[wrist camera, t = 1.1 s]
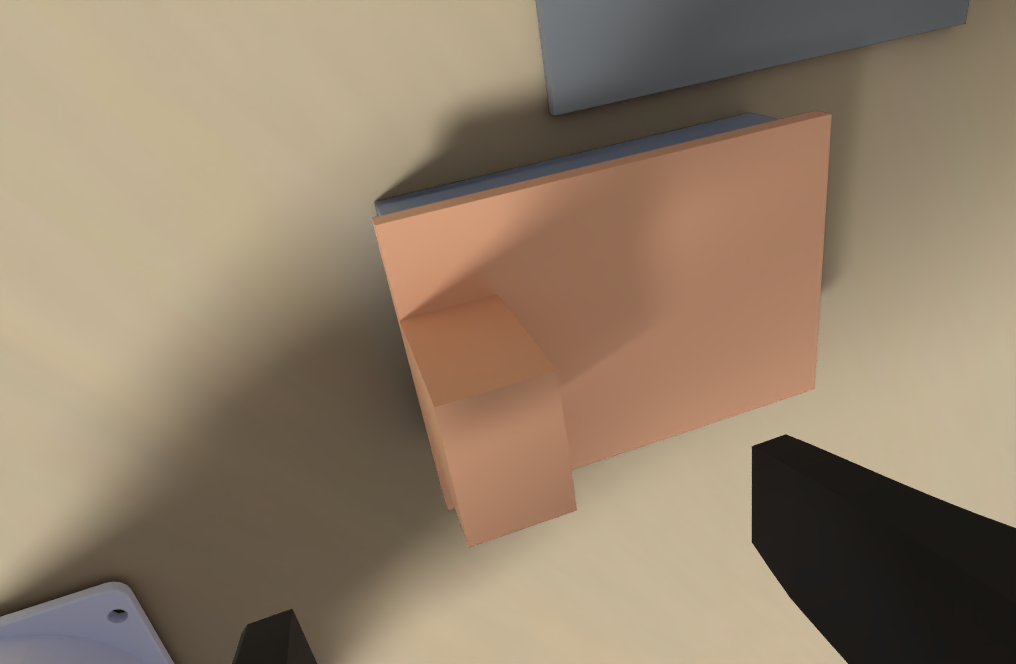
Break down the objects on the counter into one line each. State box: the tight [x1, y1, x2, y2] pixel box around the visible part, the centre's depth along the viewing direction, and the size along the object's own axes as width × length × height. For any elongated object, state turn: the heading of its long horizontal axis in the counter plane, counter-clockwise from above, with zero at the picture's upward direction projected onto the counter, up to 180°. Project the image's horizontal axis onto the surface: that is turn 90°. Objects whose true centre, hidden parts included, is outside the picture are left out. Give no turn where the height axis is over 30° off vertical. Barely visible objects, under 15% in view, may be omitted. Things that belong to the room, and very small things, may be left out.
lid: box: [372, 111, 832, 547], centre depth 17 cm, size 8×12×6 cm
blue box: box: [374, 113, 779, 216], centre depth 20 cm, size 8×11×2 cm
